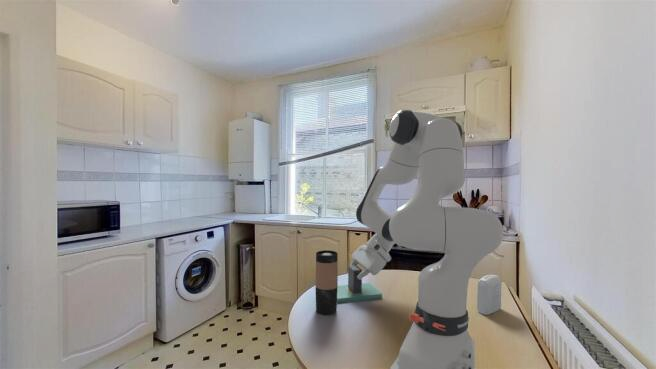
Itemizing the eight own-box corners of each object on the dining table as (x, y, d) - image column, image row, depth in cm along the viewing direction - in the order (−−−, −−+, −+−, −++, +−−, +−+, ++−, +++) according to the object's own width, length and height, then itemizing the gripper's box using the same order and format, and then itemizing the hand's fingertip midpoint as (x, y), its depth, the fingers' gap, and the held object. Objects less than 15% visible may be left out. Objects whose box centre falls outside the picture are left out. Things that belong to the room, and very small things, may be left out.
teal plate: (382, 297, 109) (382, 283, 109) (337, 302, 104) (337, 288, 104) (369, 286, 120) (369, 273, 120) (328, 290, 116) (329, 277, 116)
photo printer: (490, 304, 104) (491, 271, 104) (502, 309, 100) (503, 274, 100) (475, 311, 98) (475, 276, 98) (487, 316, 94) (488, 280, 94)
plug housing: (361, 292, 110) (361, 269, 110) (353, 293, 109) (353, 270, 109) (356, 287, 115) (356, 265, 115) (348, 287, 115) (348, 265, 114)
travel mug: (341, 308, 99) (341, 252, 99) (329, 317, 93) (330, 257, 92) (323, 303, 103) (323, 249, 103) (310, 311, 97) (311, 253, 96)
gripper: (361, 238, 124) (340, 261, 121) (382, 249, 104) (357, 277, 102) (370, 247, 125) (349, 271, 123) (393, 260, 105) (369, 288, 103)
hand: (353, 274), depth 112 cm, fingers open, 8 cm apart
